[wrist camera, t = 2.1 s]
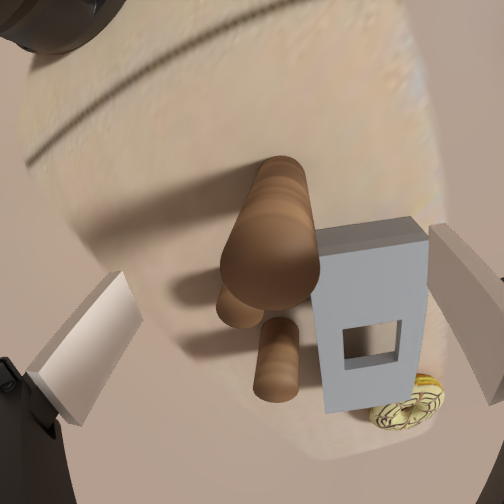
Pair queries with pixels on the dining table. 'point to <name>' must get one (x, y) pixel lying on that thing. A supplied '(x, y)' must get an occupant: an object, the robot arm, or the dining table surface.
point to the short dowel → (236, 311)
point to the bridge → (370, 309)
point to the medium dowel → (277, 361)
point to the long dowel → (273, 240)
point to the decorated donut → (410, 406)
